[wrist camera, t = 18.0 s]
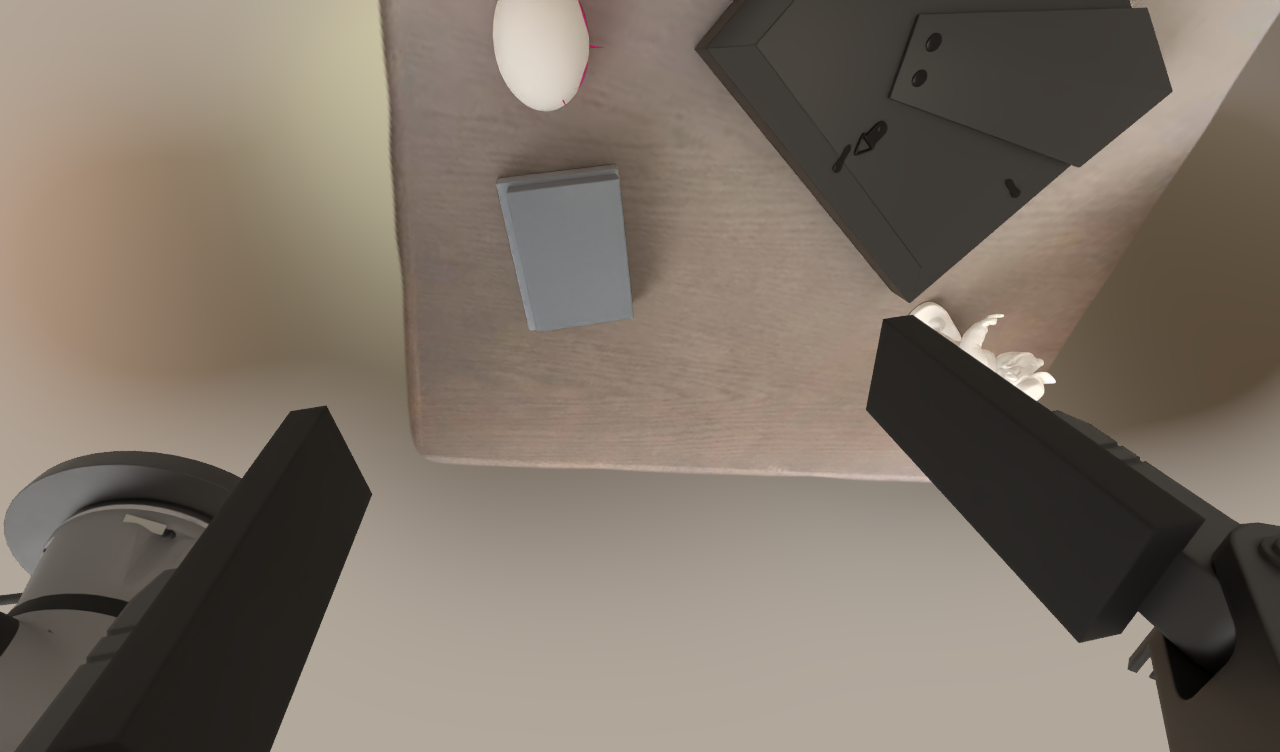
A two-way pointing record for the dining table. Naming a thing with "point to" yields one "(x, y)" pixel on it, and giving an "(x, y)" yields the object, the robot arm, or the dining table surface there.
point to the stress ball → (541, 50)
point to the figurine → (1006, 365)
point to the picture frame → (934, 108)
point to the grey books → (568, 246)
